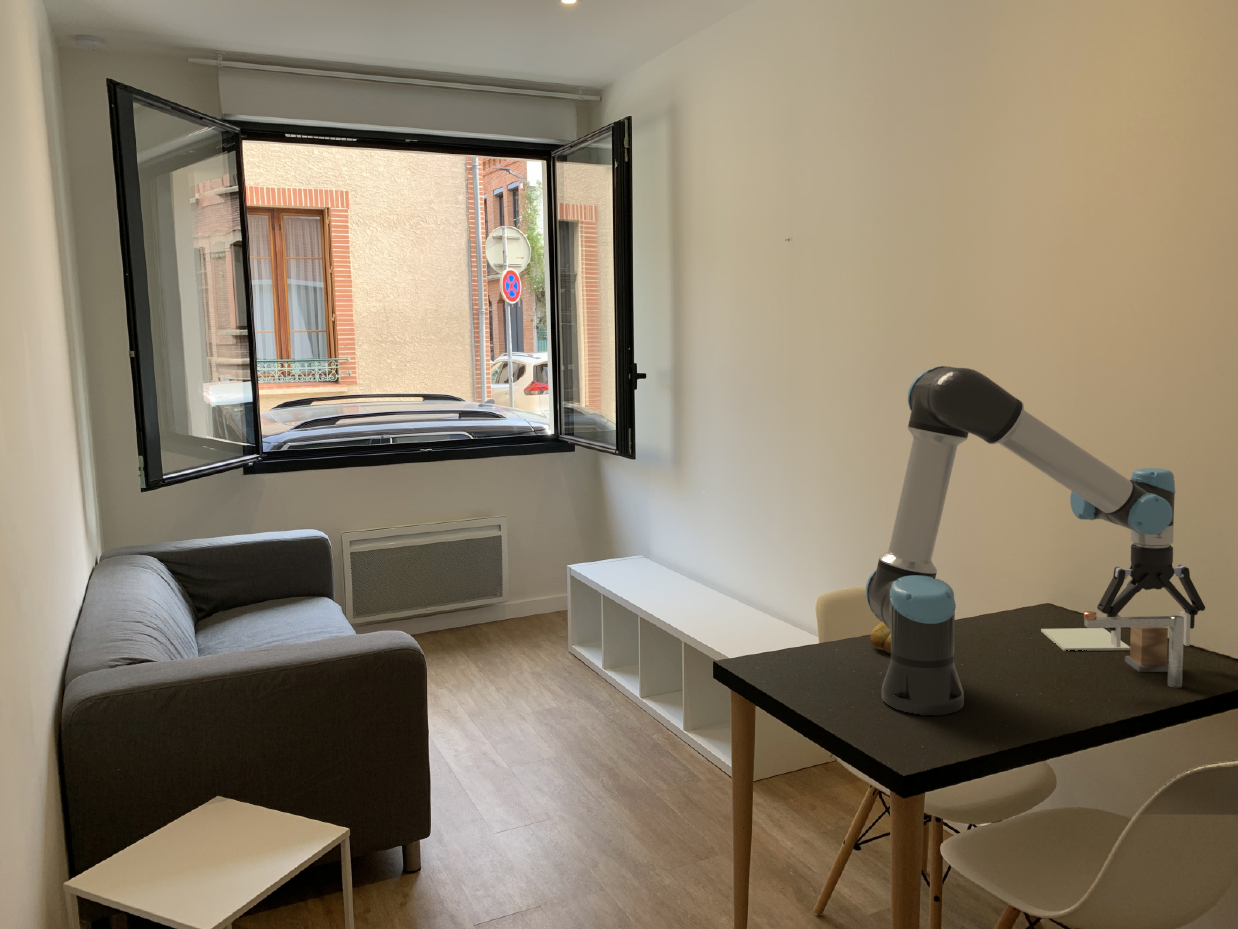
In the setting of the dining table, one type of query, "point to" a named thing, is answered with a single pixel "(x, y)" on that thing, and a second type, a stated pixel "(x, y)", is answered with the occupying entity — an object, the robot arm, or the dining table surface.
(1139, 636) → the brown boxy piece
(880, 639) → the bread roll
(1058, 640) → the sage mat
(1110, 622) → the grey l-shaped handle
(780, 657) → the dining table surface
